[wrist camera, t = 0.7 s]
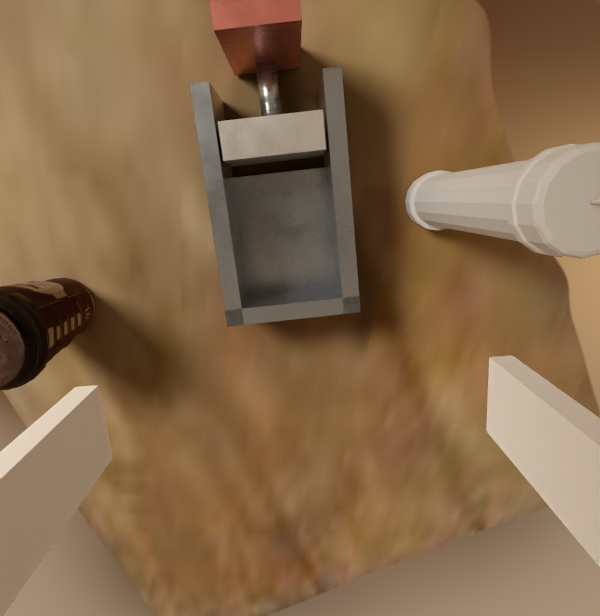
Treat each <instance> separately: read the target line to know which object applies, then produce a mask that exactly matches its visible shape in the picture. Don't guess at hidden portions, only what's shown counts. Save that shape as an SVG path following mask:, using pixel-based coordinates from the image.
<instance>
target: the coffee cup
mask: <svg viewBox="0 0 600 616" xmlns="http://www.w3.org/2000/svg"><path fill="white" fill-rule="evenodd" d="M94 314H95V306H94V301H93V298H92V296H91V294H90V292H89V291H88V289H86V288H85V287H84V286H83V285H81V284H80V283H78V282H77V281H75V280H72V279H68V278H57V279H51V280H46V281H32V282H26V283H19V284H14V285H7V286H2V287H0V390H8V389H12V388H16V387H20V386H22V385H24V384H26V383H28V382H29V381H31V380H33V379H34V378H35V377H36V376H37V375H39V373H40V372H41V371H42V370H43V369H44V368H45V366H46V363H48V362H49V361H50V360H51V359H52V358H53V357H54V356H55V355H56V354H57V353H58V352H59V351H60V350H62V349H63V348H65V347H67V346H68V345H69V344H70V343H71V341H72V340H74V339H75V338H76V337H78V336H79V335H80V334H81V333H84V332H86V331H87V330H88V329H89V328H90V326H91V325H92V322H93V319H94Z"/></svg>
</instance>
